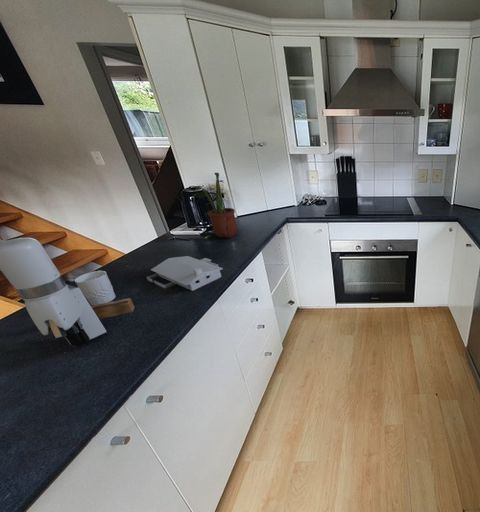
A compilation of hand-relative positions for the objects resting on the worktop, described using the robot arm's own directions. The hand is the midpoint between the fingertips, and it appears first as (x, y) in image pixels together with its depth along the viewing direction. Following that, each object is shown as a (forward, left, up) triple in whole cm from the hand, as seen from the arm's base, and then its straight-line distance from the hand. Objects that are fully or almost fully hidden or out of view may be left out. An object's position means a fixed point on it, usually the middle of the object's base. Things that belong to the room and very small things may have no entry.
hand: (81, 342), depth 75 cm
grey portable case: (+23, +36, -3) cm, 43 cm away
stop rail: (-1, +18, -3) cm, 18 cm away
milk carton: (-1, +5, -2) cm, 5 cm away
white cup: (-4, +30, -3) cm, 30 cm away
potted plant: (+35, +76, -3) cm, 84 cm away
